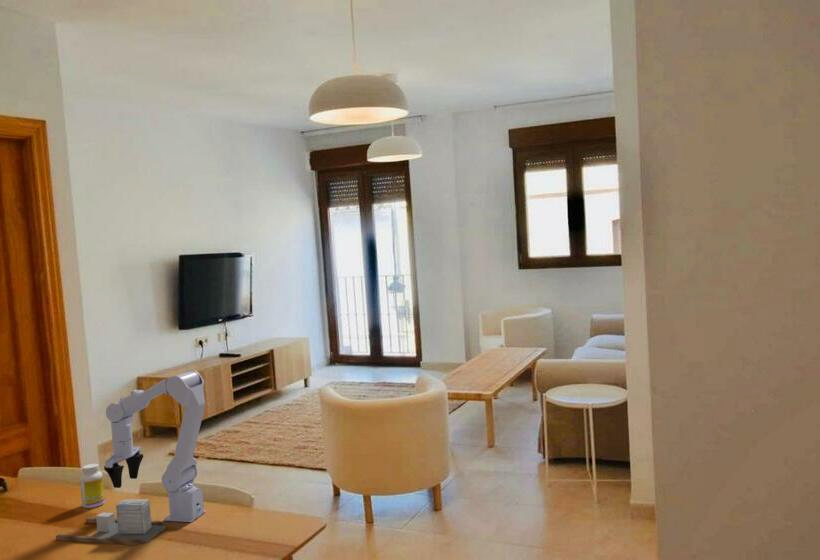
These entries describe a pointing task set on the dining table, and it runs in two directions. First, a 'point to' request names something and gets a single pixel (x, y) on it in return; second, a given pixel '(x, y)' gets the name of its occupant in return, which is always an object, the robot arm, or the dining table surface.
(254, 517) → the dining table surface
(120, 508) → the medicine box
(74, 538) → the walnut guide rails
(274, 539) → the dining table surface
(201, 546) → the dining table surface
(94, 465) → the supplement bottle
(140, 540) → the grey tray plate
